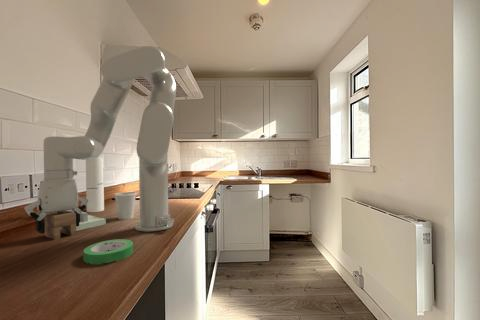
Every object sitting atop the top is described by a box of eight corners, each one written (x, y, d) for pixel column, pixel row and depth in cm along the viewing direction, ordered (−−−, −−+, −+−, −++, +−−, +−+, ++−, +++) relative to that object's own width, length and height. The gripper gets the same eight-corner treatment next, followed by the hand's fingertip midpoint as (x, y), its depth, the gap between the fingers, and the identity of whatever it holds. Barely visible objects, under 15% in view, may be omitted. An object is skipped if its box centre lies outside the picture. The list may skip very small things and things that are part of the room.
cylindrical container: (107, 210, 121) (106, 157, 121) (91, 212, 115) (90, 157, 115) (98, 208, 125) (97, 157, 125) (83, 211, 119) (82, 157, 119)
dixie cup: (111, 218, 105) (110, 193, 104) (131, 214, 111) (131, 191, 110) (119, 221, 99) (119, 195, 99) (140, 217, 105) (140, 193, 105)
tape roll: (72, 264, 60) (71, 253, 60) (104, 247, 71) (104, 238, 71) (114, 267, 58) (114, 255, 58) (141, 249, 69) (141, 239, 69)
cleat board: (105, 224, 95) (105, 210, 95) (69, 232, 85) (69, 217, 85) (84, 218, 104) (84, 206, 104) (49, 225, 94) (49, 212, 94)
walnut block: (76, 234, 82) (75, 208, 82) (54, 239, 77) (54, 211, 77) (66, 231, 86) (65, 206, 86) (45, 236, 81) (44, 209, 81)
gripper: (82, 173, 91) (82, 221, 91) (20, 176, 76) (20, 234, 76) (92, 174, 87) (93, 224, 87) (29, 177, 72) (30, 238, 72)
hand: (59, 229), depth 82 cm, fingers open, 9 cm apart
